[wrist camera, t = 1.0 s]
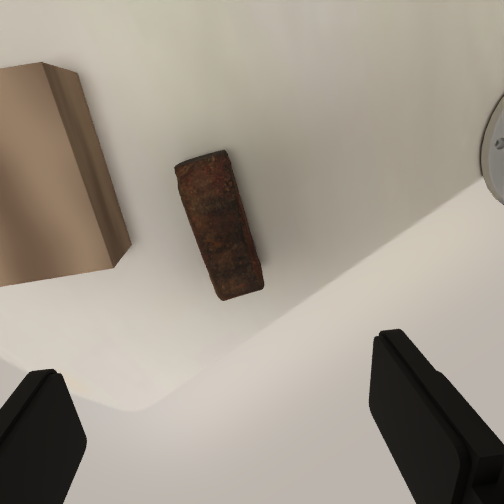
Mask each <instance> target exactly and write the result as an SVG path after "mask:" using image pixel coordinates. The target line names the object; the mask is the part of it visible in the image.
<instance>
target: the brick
mask: <svg viewBox="0 0 504 504" xmlns="http://www.w3.org/2000/svg"><path fill="white" fill-rule="evenodd" d="M174 168H175V174H176V176H177V180H178V190H179V194H180V196H181V200H182V203H183V206H184V208H185V211H186V214H187V217H188V220H189V222H190V225H191V227H192V230H193V233H194V236H195V238H196V241H197V244H198V247H199V249H200V252H201V255H202V258H203V260H204V263H205V265H206V268H207V270H208V272H209V275H210V276H209V277H210V279H211V281H212V284H213V286H214V289H215V292H216V294H217V296H218V297H219V298H220V299H221V300H222V301H225V300H228V299H231V298H235V297H238V296H241V295H244V294H248V293H252V292H255V291H259V290H262V289H263V288H264V280H263V274H262V268H261V264H260V261H259V259H258V256H257V253H256V249H255V246H254V242H253V239H252V236H251V233H250V229H249V225H248V222H247V218H246V215H245V212H244V208H243V205H242V201H241V198H240V195H239V191H238V188H237V184H236V181H235V177H234V174H233V170H232V167H231V162H230V160H229V158H228V154H227V152H226V151H225V150H222V151H218V152H214V153H210V154H206V155H203V156H199V157H196V158H193V159H189V160H187V161H184V162H182V163H179V164H178V165H176V166H175V167H174Z"/></svg>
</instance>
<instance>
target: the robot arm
mask: <svg viewBox="0 0 504 504" xmlns="http://www.w3.org/2000/svg"><path fill="white" fill-rule="evenodd" d="M481 165H482V172H483V177H484V180H485V182H486V185H487V187H488V189H489V190H490V192H491V193H492V194H493V196H494V197H495V198H496V199H497V200H498V201H499V202H501V203H502V204H503V205H504V96H503V98H502V99H501V101H500V102H499V104H498V106H497V108H496V109H495V111H494V113H493V115H492V117H491V119H490V122H489V124H488V127H487V129H486V132H485V136H484V140H483V145H482V155H481ZM369 407H370V411H371V414H372V416H373V418H374V420H375V422H376V424H377V426H378V428H379V430H380V432H381V434H382V436H383V438H384V440H385V442H386V444H387V446H388V448H389V450H390V452H391V454H392V456H393V458H394V460H395V462H396V464H397V466H398V468H399V470H400V472H401V474H402V476H403V478H404V480H405V482H406V484H407V486H408V488H409V490H410V492H411V494H412V496H413V498H414V500H415V502H416V504H504V444H503V443H502V442H501V441H500V439H499V438H498V437H497V436H496V435H495V434H494V432H493V431H492V430H491V429H490V428H489V427H488V425H487V424H486V423H485V422H484V421H483V420H482V419H481V417H480V416H479V415H478V414H477V413H476V411H475V410H474V409H473V408H472V407H471V406H470V405H469V403H468V402H467V401H466V400H465V399H464V398H463V396H462V395H461V394H460V393H459V392H458V391H457V389H456V388H455V387H454V386H453V385H452V384H451V382H450V381H449V380H448V379H447V378H446V377H445V376H444V375H443V374H442V373H441V372H439V371H436V370H435V369H434V367H433V366H432V365H431V364H430V363H429V361H428V360H427V359H426V358H425V357H424V356H423V354H422V353H421V352H420V351H419V350H418V348H417V347H416V346H415V345H414V344H413V343H412V341H411V340H410V339H409V338H408V337H407V335H406V334H405V333H404V332H403V331H402V330H401V329H393V330H385V331H381V332H380V333H379V336H376V337H375V338H374V342H373V355H372V368H371V380H370V393H369ZM86 444H87V438H86V435H85V432H84V430H83V427H82V425H81V422H80V420H79V417H78V414H77V412H76V409H75V407H74V404H73V401H72V399H71V396H70V394H69V391H68V389H67V386H66V383H65V381H64V378H63V376H62V374H60V373H57V372H56V371H55V370H54V369H46V370H37V371H31V372H29V373H28V374H27V375H26V377H25V378H24V379H23V380H22V382H21V383H20V384H19V386H18V387H17V388H16V390H15V391H14V392H13V394H12V395H11V396H10V397H9V399H8V400H7V401H6V402H5V404H4V405H3V406H2V408H1V409H0V504H63V502H64V500H65V497H66V495H67V493H68V490H69V488H70V485H71V483H72V481H73V478H74V476H75V474H76V471H77V469H78V467H79V464H80V462H81V460H82V457H83V455H84V452H85V449H86Z"/></svg>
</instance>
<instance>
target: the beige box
mask: <svg viewBox="0 0 504 504" xmlns="http://www.w3.org/2000/svg"><path fill="white" fill-rule="evenodd" d="M131 245H132V244H131V241H130V238H129V235H128V232H127V229H126V225H125V222H124V219H123V216H122V213H121V210H120V206H119V203H118V200H117V197H116V194H115V191H114V187H113V184H112V181H111V178H110V175H109V172H108V169H107V165H106V162H105V159H104V156H103V153H102V150H101V146H100V143H99V140H98V137H97V134H96V131H95V127H94V124H93V121H92V118H91V115H90V112H89V108H88V105H87V102H86V99H85V96H84V93H83V89H82V86H81V83H80V80H79V77H78V74H77V73H76V72H73V71H69V70H66V69H63V68H59V67H56V66H53V65H49V64H46V63H43V62H39V63H32V64H26V65H20V66H14V67H8V68H1V69H0V287H2V286H8V285H14V284H20V283H26V282H32V281H38V280H44V279H51V278H57V277H63V276H69V275H75V274H81V273H87V272H93V271H99V270H105V269H112V268H114V267H115V266H116V264H117V263H118V262H119V260H120V259H121V258H122V257H123V255H124V254H125V253H126V251H127V250H128V249H129V247H130V246H131Z"/></svg>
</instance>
